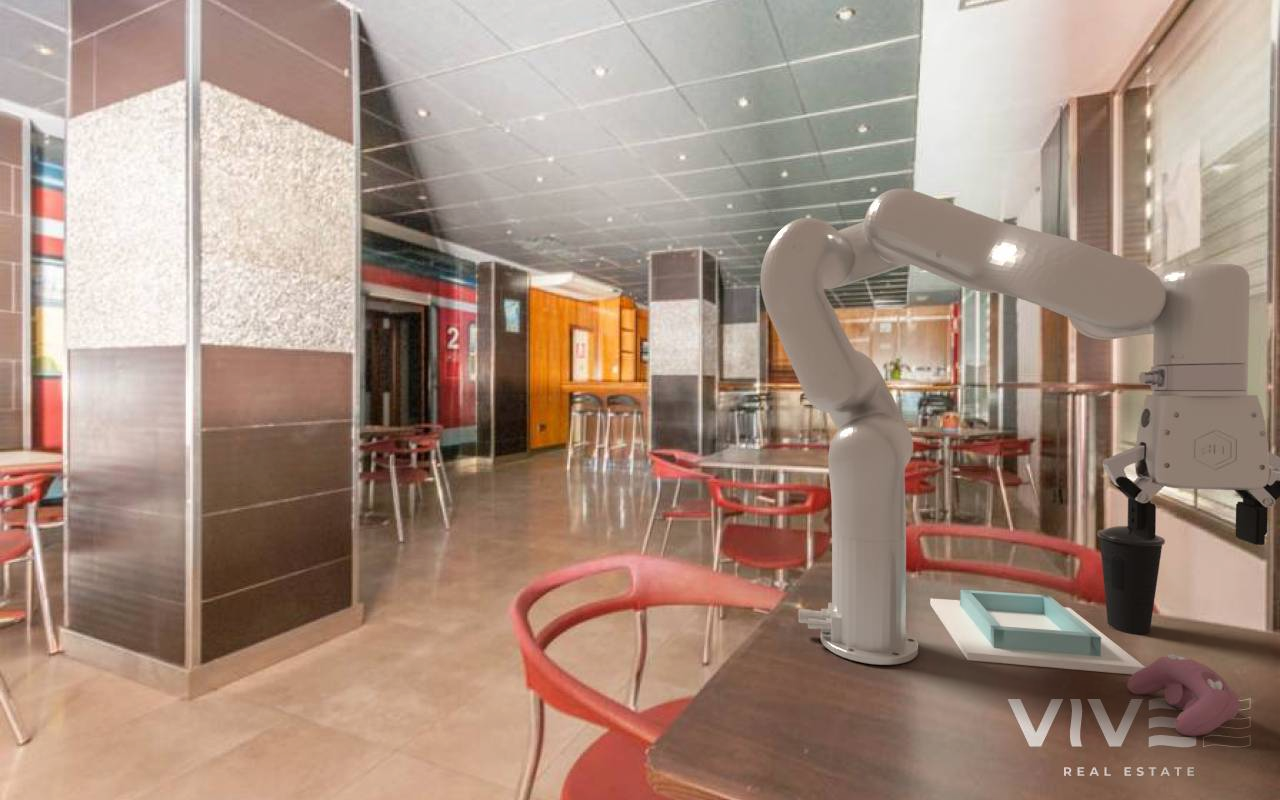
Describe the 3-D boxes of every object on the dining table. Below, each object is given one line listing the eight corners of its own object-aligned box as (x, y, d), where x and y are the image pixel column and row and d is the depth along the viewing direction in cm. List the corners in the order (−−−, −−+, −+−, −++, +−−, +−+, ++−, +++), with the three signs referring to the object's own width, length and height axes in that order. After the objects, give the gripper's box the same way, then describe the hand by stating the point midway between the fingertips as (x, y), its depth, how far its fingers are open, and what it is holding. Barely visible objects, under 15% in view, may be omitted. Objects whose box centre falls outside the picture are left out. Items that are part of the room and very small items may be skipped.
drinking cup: (1173, 642, 83) (1176, 498, 83) (1107, 634, 86) (1109, 495, 86) (1149, 621, 91) (1151, 489, 90) (1088, 614, 93) (1090, 486, 93)
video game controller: (1222, 757, 61) (1260, 699, 60) (1175, 733, 61) (1213, 675, 61) (1159, 705, 70) (1191, 654, 70) (1119, 684, 71) (1151, 634, 70)
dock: (967, 660, 79) (967, 633, 79) (930, 604, 98) (930, 583, 98) (1145, 675, 74) (1146, 647, 74) (1069, 614, 94) (1069, 591, 94)
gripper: (1123, 383, 64) (1121, 544, 64) (1328, 381, 59) (1324, 553, 60) (1089, 382, 71) (1087, 527, 71) (1269, 381, 67) (1266, 534, 67)
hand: (1195, 539), depth 66 cm, fingers open, 9 cm apart
